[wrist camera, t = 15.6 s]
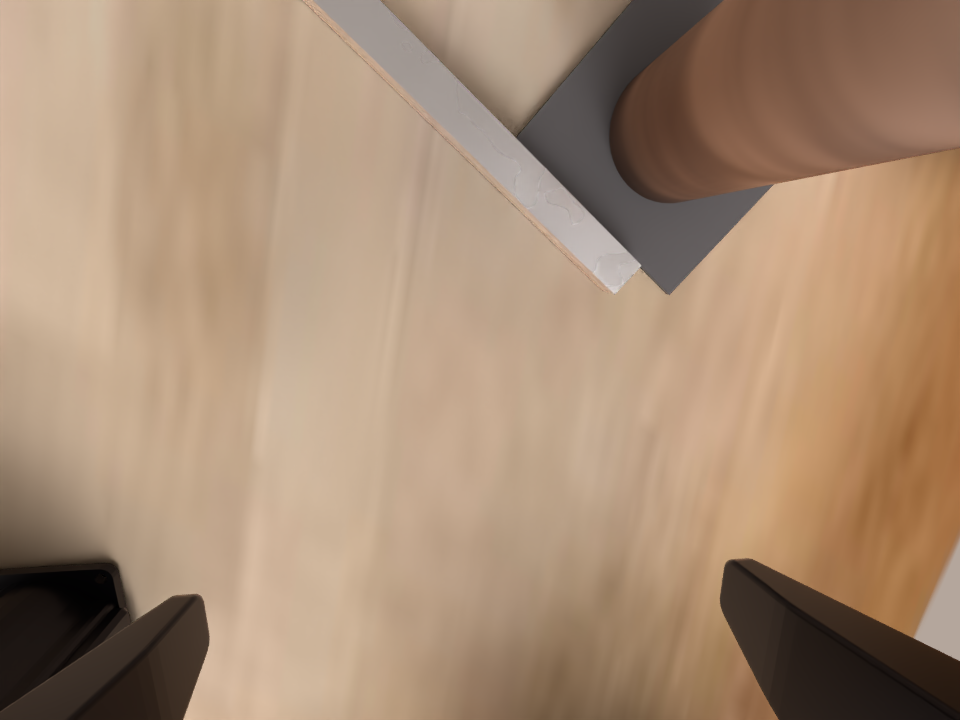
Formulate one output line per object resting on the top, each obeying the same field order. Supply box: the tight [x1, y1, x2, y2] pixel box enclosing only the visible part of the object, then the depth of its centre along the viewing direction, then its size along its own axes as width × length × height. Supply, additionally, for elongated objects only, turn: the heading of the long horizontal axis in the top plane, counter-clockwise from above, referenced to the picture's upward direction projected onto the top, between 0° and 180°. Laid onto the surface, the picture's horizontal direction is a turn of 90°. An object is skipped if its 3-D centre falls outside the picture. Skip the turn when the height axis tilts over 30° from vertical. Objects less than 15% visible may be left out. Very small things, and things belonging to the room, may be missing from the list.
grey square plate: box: [516, 0, 774, 295], centre depth 19 cm, size 9×9×1 cm
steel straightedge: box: [303, 0, 642, 295], centre depth 18 cm, size 18×2×2 cm, turn 48°
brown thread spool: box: [609, 0, 960, 203], centre depth 13 cm, size 5×5×13 cm
